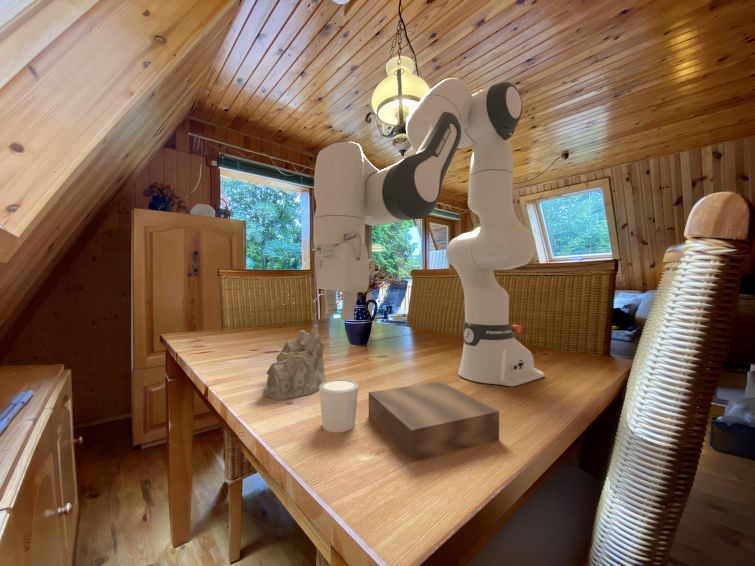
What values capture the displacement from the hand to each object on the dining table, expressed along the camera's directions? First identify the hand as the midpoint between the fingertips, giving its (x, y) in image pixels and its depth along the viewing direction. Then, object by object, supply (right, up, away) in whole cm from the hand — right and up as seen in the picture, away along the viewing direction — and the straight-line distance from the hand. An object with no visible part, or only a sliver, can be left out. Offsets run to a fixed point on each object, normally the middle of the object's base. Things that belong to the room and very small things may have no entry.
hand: (338, 316), depth 55 cm
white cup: (0, -19, 0) cm, 19 cm away
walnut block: (+16, -20, -1) cm, 25 cm away
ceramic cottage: (-14, -19, +21) cm, 31 cm away
